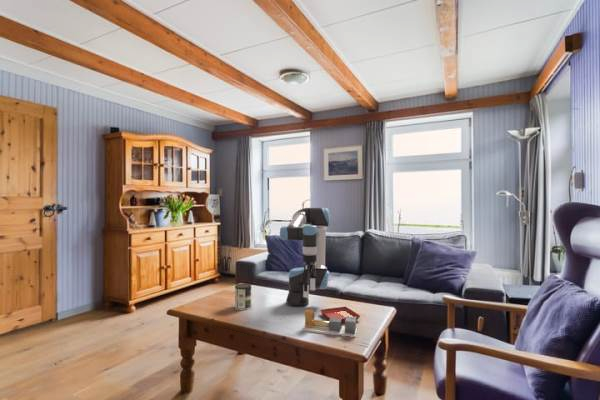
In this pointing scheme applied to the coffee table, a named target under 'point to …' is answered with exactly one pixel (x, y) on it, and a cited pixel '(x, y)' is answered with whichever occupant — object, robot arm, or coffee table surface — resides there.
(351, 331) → the socket
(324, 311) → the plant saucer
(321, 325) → the yellow wall block
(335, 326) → the grey speckled block
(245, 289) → the coffee can
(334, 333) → the base board
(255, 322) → the coffee table surface
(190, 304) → the coffee table surface
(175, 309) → the coffee table surface
